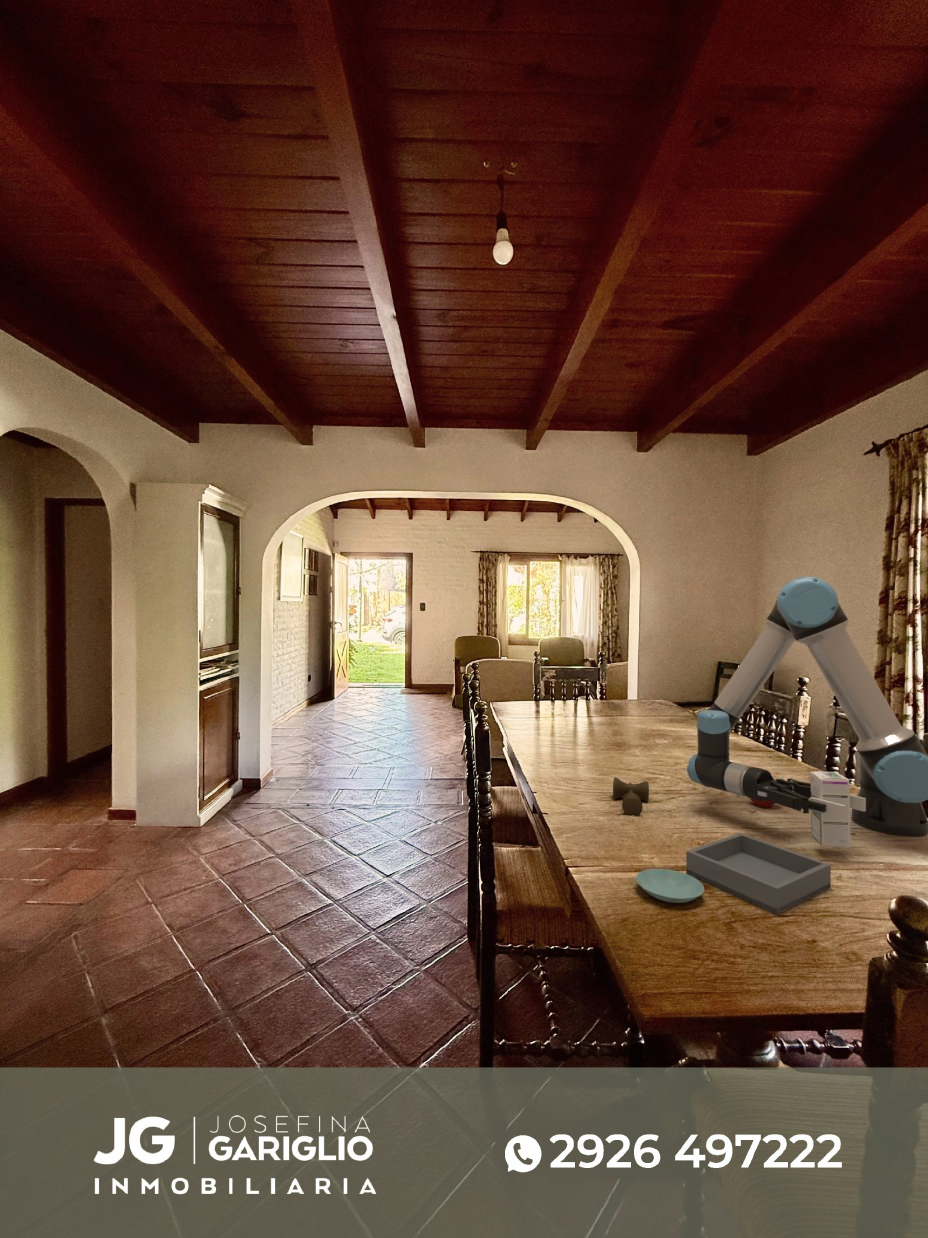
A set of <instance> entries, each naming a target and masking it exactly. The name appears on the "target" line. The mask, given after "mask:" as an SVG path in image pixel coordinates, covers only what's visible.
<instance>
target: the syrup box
mask: <svg viewBox="0 0 928 1238" xmlns="http://www.w3.org/2000/svg"><path fill="white" fill-rule="evenodd" d="M809 773H810V776H809V777H810V783H811V797H814V798H818V799H822V800H826V801H830V802H834V803H838V804H842V805H846V819H841V818H837V817H833V816H829V815H826V814H822V813H818V812H815V811H811V810H810V820H811V822H810V823H811V827H810V829H811V837H812V838H813V839H814V840H816V842H817V843H818V844H819V845H820V846H822V847H831V848H845V849H848V848H851V846H852V845H851V843H852V842H851V808H850V795H851V794H850V779H849V778H847V777H845V776H844V775H842V774H841V773H839V772H836V771H827V770H825V771H823V770H821V771H820V770H817V771H815V770H814V771H810V772H809Z"/></svg>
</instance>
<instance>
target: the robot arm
mask: <svg viewBox="0 0 928 1238" xmlns="http://www.w3.org/2000/svg"><path fill="white" fill-rule="evenodd" d="M765 622H766V626H765V628H764V629H763V630H762V632H761V633H760V635H759V636H758V638H757V639H756V640H755V642H754V643H753V645H752V647H751V648H750V649H749V651H748V653H746V656H745V657H744V659H743V660H742V661H741V663H740V664H739V665H738V667H737V668H736V670H735V671H734V673H733V675H732V676H731V677H730V679H729V680H728V681H727V683H726V684H725V686H724V687H723V689H722V691H720V693H719V695H718V697H717V698H716V699H715V701H714V702H713V704H712V705H711V706H710V708H709V709H708V710H707V709H706V710H705V709H704V710H700V711H698V713H697V719H696V720H697V722H696V729H697V732H696V733H697V754H694V755H692V756H691V757H690V758H689V760H688V764H687V767H686V771H687V772H686V773H687V776H688V778H689V779H690V780H691V781H692V782H693V783H695V784H699V785H701V786H704V787H705V788H706V787H707V788H711V789H715V790H719V791H722V792H727V793H730V794H735V795H736V797H737V798H740V797H744V798H746V797H747V798H748V799H750V800H751V799H754V800H758V801H766V800H767V801H770V802H773V803H776V804H777V805H780V806H782V807H786V808H788V809H792V810H795V811H797V812H800V811H802V812H803V814H805V815H807V814H808V815H809V814H810V812H811V811H815V812H818V813H822V814H826V815H829V816H833V817H837V818H841V819H846V805H842V804H838V803H834V802H830V801H826V800H822V799H818V798H814V797H811V782H806V781H801V780H796V779H793V778H787V780H786V779H784V778H783V779H782V778H776V779H774V778H773V775H772V773H771V772H770V770H768V769H765V768H760V767H757V766H751V765H747V764H743V763H738V762H735V761H730V735H731V732H732V730H733V729H734V728H735V726H736V725H737V723H739V721H740V718H741V717H742V716H743V714H744V713H745V712H746V710H747V709H748V707H749V705H751V703H752V702H753V700H754V699H755V698H756V696H757V695H758V693H759V692H760V691H761V689H762V687H763V686H764V685H765V683H767V681H768V679H769V678H770V677H771V675H772V674H773V672H774V671H775V670H776V668H777V666H779V664H780V662H782V659H783V658H784V657H785V655H786V654H788V653H787V652H788V651H789V650H790V649H791V647H792V646H793V644H794V643H795V642H798V643H800V644H803V645H805V646H806V647H807V649H808V650H809V652H810V653H811V655H812V658H813V659H814V661H815V662H816V664H817V666H818V668H819V670H820V672H821V673H822V675H823V677H824V679H825V681H826V682H827V684H828V686H829V687H830V690H831V691H832V692H833V694H834V696H835V698H836V700H837V702H838V704H839V705H840V707H841V709H842V710H843V712H844V714H845V717H847V720H848V721H849V723H850V725H851V727H852V729H853V730H854V732H855V734H856V735H857V737H858V741H857V744H856V746H855V749H856V750H857V752H858V754H859V756H860V757H859V759H860V763H859V764H860V766H859V768H860V769H859V771H860V772H859V774H860V775H859V782H860V783H859V790H858V793H857V795H855V794H850V809H851V816H850V819H851V820H852V821H853V822H855V823H856V824H858V825H860V826H862V827H865V828H867V829H870V830H874V831H876V832H877V831H878V832H881V833H886V834H892V835H899V836H907V837H911V836H912V837H919V835H921V836H925V835H928V817H927V815H926V812H925V809H924V807H923V804H922V802H925V801H928V754H927V752H926V750H925V748H924V747H923V745H922V743H921V741H920V740H921V739H920V736H919V735H918V734H916V733H915V732H914V730H913V729H910V728H907V727H904V726H903V725H901V722H900V721H899V720H898V718H897V716H896V714H895V713H894V711H893V709H892V708H891V706H890V704H889V702H888V701H887V699H886V697H885V696H884V693H883V692H882V690H881V689H880V687H879V685H878V683H877V682H876V680H875V678H874V676H873V675H872V673H871V671H870V670H869V668H868V666H867V664H866V662H865V661H864V660H863V658H862V655H861V654H860V653H859V651H858V649H857V647H856V646H855V644H854V642H853V640H852V639H851V637H850V635H849V634H848V632H847V626H848V624H849V619H848V617H847V615H846V613H845V612H844V609H843V608H842V607H841V605H840V603H839V598H838V595H837V592H836V590H835V588H833V586H832V585H831V584H829V583H828V582H827V581H825V580H823V579H821V578H818V577H814V576H801V577H798V578H795V579H792V580H791V581H789V582H787V583H786V584H785V585H784V586H783V587H782V588H781V589H780V591H779V593H778V595H777V599H776V601H775V604H774V606H773V607H772V609H771V612H770V613H769V615H768V616H767V618H766V619H765ZM776 804H775V805H776Z"/></svg>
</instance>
